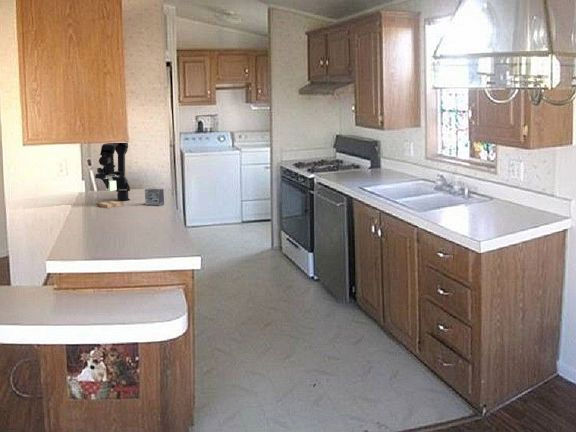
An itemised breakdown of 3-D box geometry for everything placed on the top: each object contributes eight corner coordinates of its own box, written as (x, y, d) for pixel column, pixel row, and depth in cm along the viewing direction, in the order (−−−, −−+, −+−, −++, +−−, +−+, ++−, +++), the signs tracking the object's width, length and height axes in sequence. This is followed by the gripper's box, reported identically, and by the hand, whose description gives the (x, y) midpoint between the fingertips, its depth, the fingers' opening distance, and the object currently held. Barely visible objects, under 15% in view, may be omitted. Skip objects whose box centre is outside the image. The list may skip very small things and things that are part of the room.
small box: (164, 204, 437) (164, 188, 435) (159, 206, 431) (158, 190, 429) (150, 204, 440) (149, 188, 438) (145, 205, 434) (144, 189, 432)
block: (111, 189, 437) (111, 180, 436) (116, 190, 434) (116, 180, 433) (105, 190, 433) (104, 181, 432) (110, 191, 430) (109, 181, 429)
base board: (112, 203, 444) (112, 200, 444) (123, 205, 436) (123, 202, 436) (96, 206, 435) (96, 203, 435) (107, 208, 427) (107, 204, 427)
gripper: (113, 161, 443) (115, 185, 445) (89, 164, 428) (90, 189, 431) (124, 162, 436) (125, 186, 438) (99, 165, 421) (101, 190, 424)
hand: (110, 188), depth 433 cm, fingers closed on block, 5 cm apart
